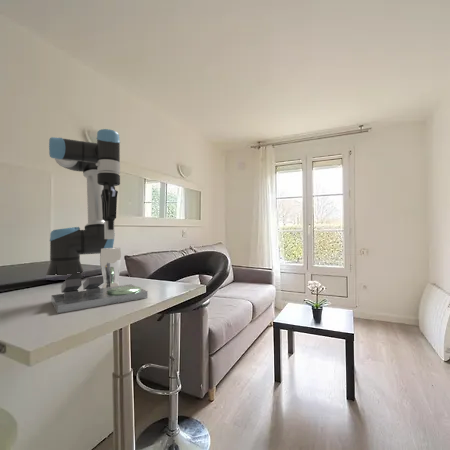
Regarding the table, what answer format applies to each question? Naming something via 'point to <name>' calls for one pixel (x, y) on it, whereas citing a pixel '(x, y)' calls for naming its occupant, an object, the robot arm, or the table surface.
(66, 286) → the rocker tagged
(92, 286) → the rocker plain
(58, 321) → the table surface
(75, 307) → the switch panel
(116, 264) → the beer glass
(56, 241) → the robot arm
